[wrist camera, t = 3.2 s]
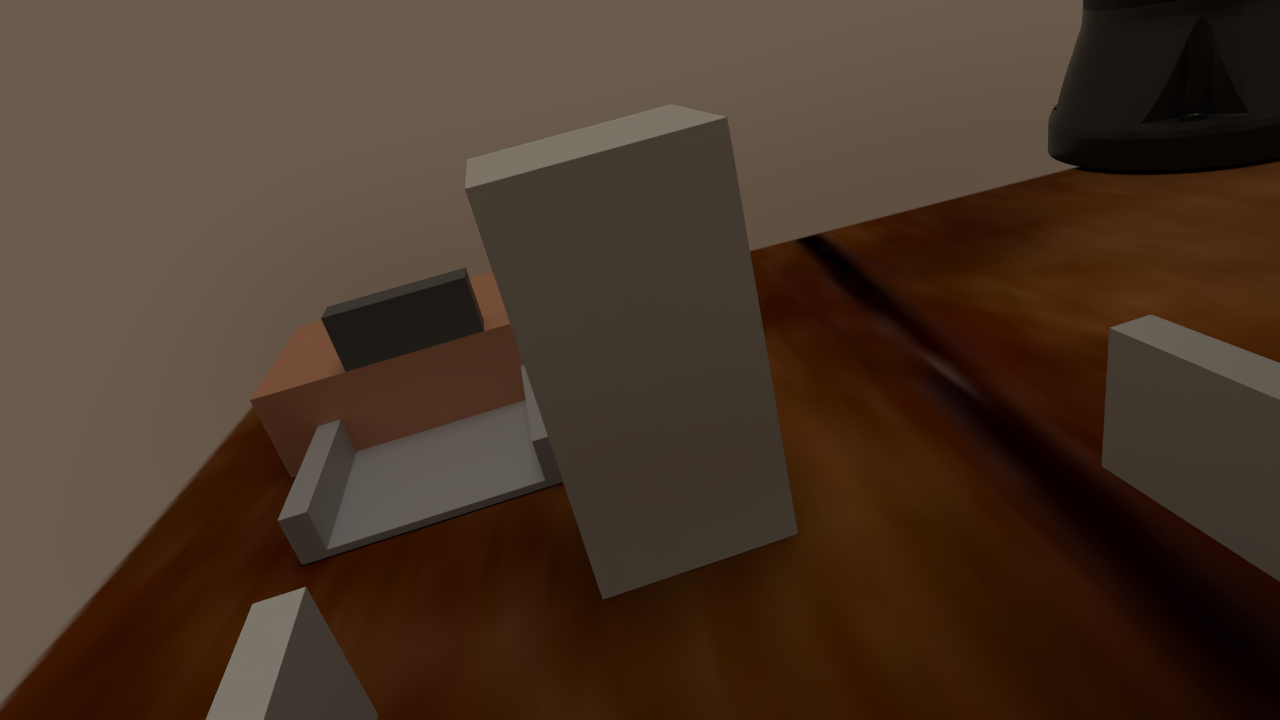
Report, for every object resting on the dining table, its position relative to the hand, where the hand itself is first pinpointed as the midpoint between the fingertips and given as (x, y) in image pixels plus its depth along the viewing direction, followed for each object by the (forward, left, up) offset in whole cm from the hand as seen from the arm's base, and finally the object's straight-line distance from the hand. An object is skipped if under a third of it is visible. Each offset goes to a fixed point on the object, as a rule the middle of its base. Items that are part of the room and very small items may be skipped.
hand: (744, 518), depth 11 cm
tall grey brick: (0, -10, -7) cm, 12 cm away
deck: (+4, -22, -7) cm, 23 cm away
